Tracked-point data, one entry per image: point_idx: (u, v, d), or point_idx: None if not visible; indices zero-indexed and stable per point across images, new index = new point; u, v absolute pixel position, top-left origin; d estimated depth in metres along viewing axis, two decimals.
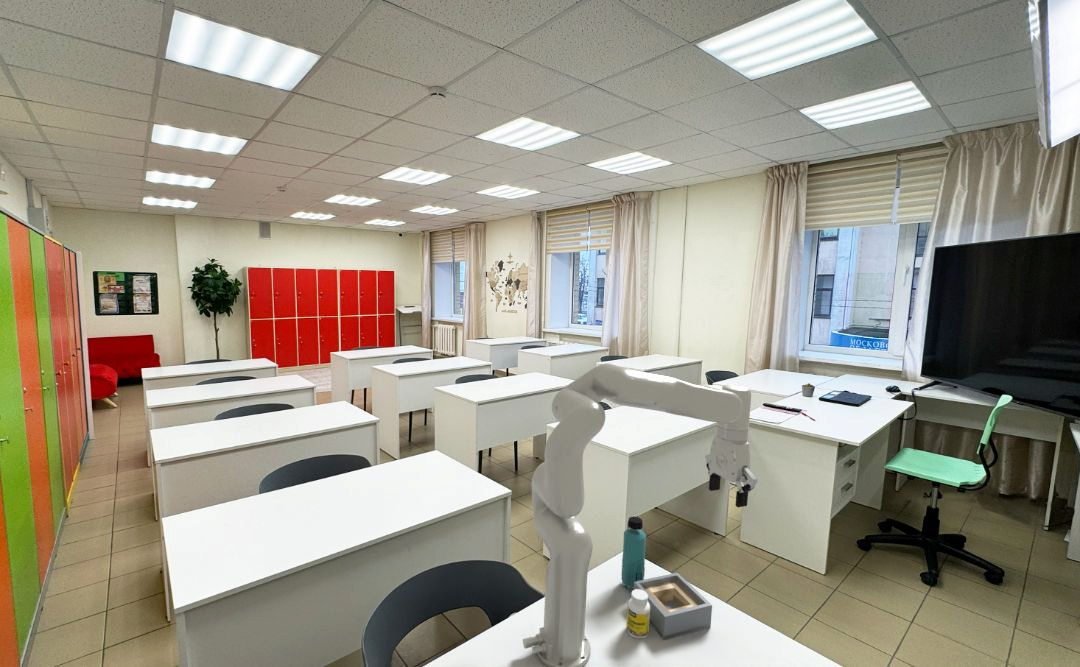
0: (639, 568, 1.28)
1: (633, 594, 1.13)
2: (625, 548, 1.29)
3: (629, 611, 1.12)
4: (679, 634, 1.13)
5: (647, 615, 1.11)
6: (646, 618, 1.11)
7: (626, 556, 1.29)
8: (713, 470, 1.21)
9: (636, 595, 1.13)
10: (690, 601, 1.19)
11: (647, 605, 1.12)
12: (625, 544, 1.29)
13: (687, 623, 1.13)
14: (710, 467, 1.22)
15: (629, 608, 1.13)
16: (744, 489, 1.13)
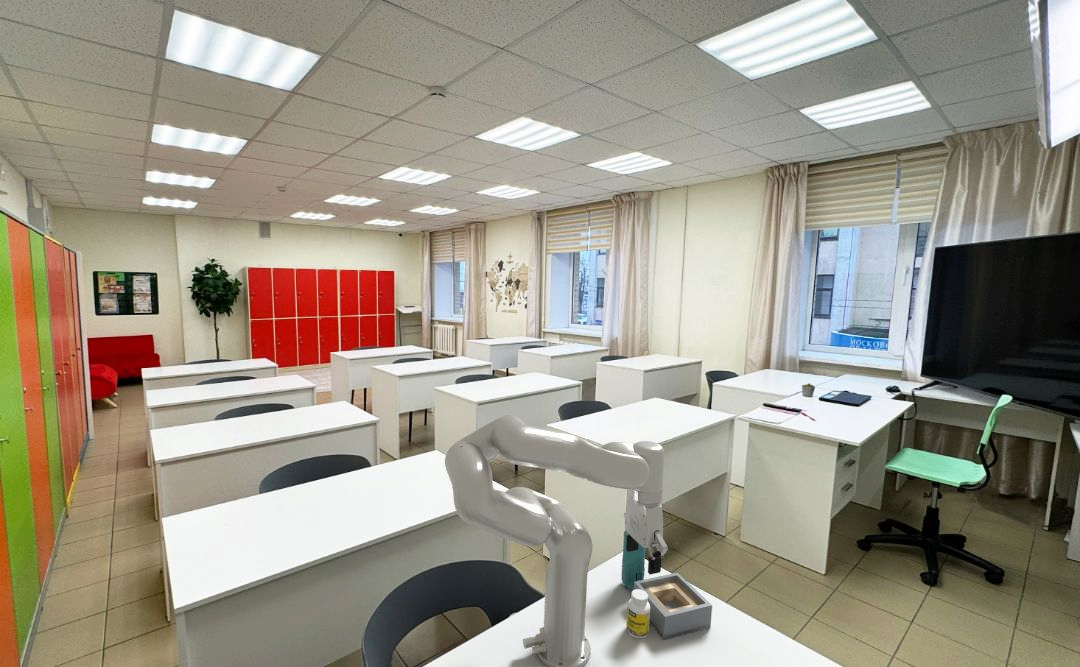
0: (639, 568, 1.28)
1: (633, 594, 1.13)
2: (625, 548, 1.29)
3: (629, 611, 1.12)
4: (679, 634, 1.13)
5: (647, 615, 1.11)
6: (646, 618, 1.11)
7: (626, 556, 1.29)
8: (628, 531, 1.13)
9: (636, 595, 1.13)
10: (690, 601, 1.19)
11: (647, 605, 1.12)
12: (625, 544, 1.29)
13: (687, 623, 1.13)
14: (626, 528, 1.14)
15: (629, 608, 1.12)
16: (655, 556, 1.06)
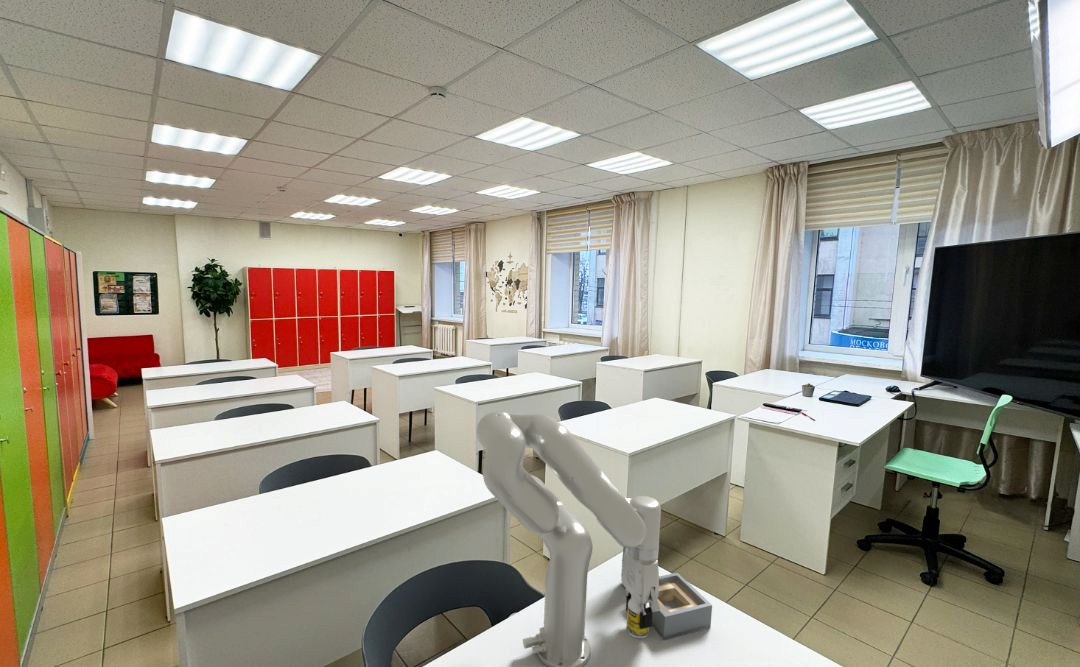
0: None
1: None
2: (625, 548, 1.29)
3: (629, 611, 1.12)
4: (679, 634, 1.13)
5: None
6: None
7: None
8: (624, 585, 1.14)
9: None
10: (690, 601, 1.19)
11: (647, 605, 1.12)
12: None
13: (687, 623, 1.13)
14: (622, 580, 1.16)
15: (629, 608, 1.13)
16: (646, 612, 1.09)
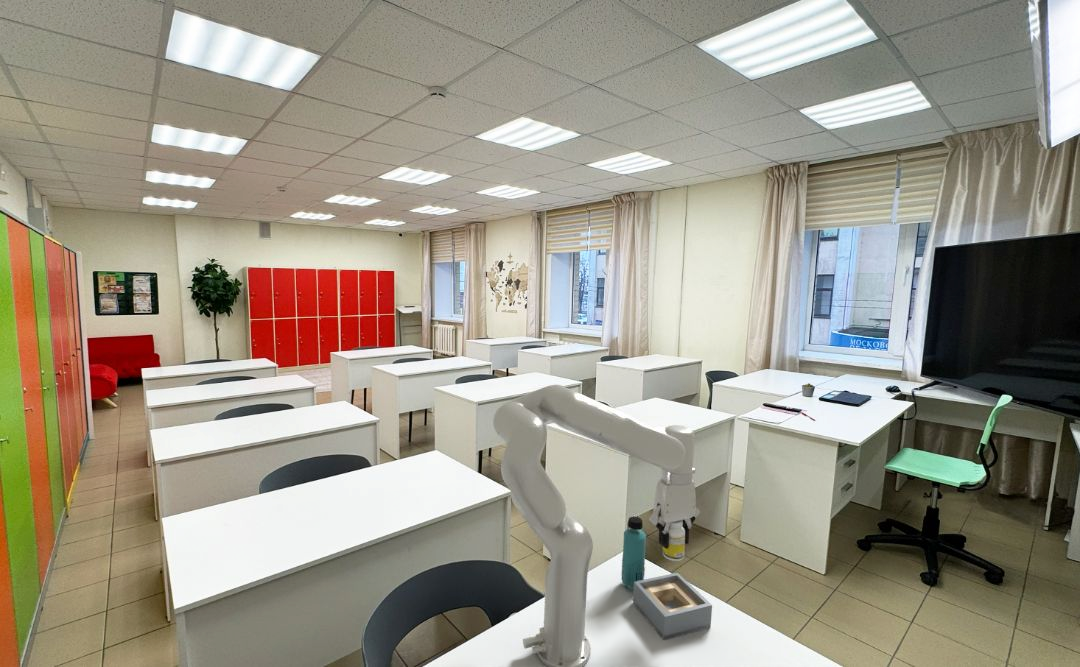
0: (639, 568, 1.28)
1: None
2: (625, 548, 1.29)
3: None
4: (679, 634, 1.13)
5: None
6: None
7: (626, 556, 1.29)
8: None
9: None
10: (690, 601, 1.19)
11: (672, 531, 1.16)
12: (625, 544, 1.29)
13: (687, 623, 1.13)
14: None
15: None
16: None
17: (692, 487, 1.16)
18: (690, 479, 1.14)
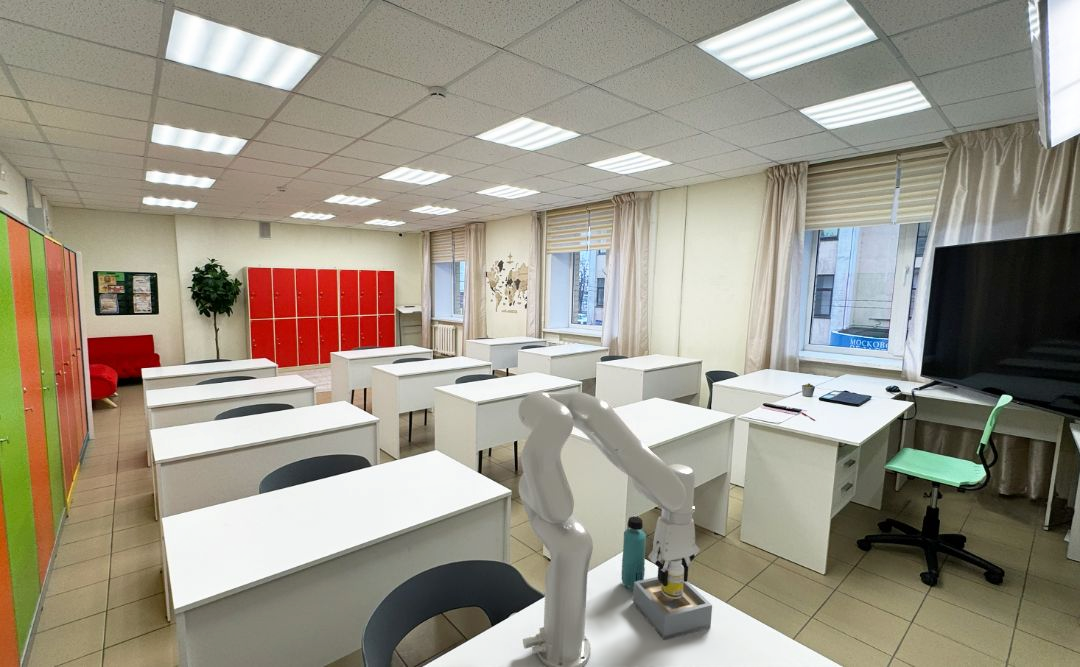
0: (639, 568, 1.28)
1: None
2: (625, 548, 1.29)
3: None
4: (679, 634, 1.13)
5: None
6: None
7: (626, 556, 1.29)
8: None
9: None
10: (690, 601, 1.19)
11: (671, 569, 1.17)
12: (625, 544, 1.29)
13: (687, 623, 1.13)
14: None
15: None
16: None
17: (692, 526, 1.17)
18: (690, 519, 1.15)
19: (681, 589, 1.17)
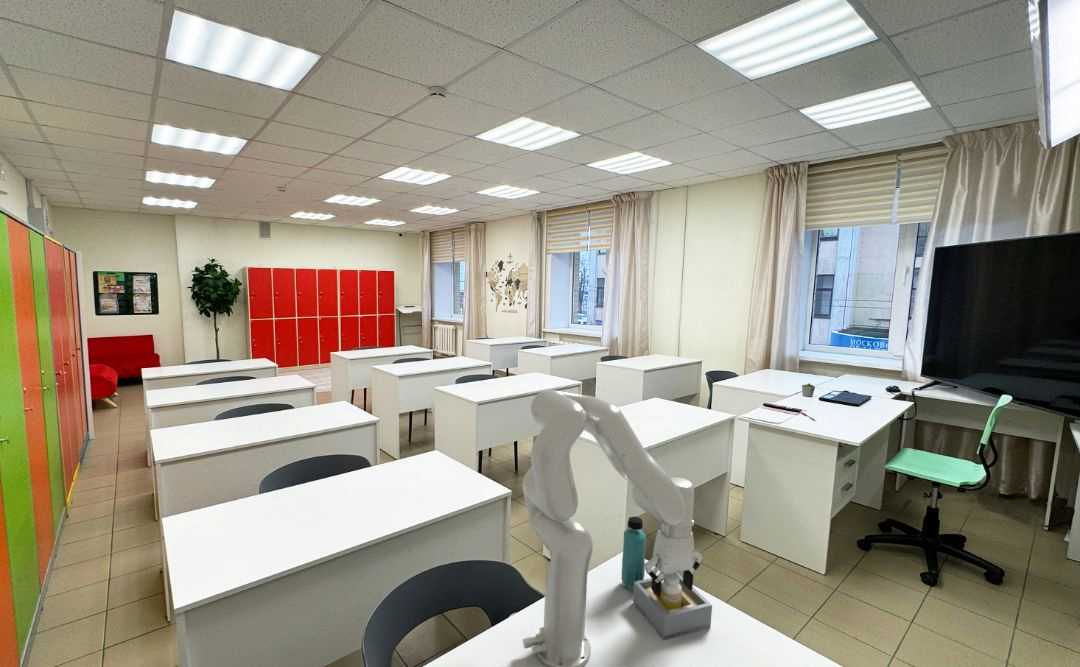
0: (639, 568, 1.28)
1: None
2: (625, 548, 1.29)
3: None
4: (679, 634, 1.13)
5: (664, 593, 1.18)
6: (663, 596, 1.18)
7: (626, 556, 1.29)
8: None
9: None
10: (690, 601, 1.19)
11: (669, 588, 1.18)
12: (625, 544, 1.29)
13: (687, 623, 1.13)
14: None
15: None
16: None
17: (691, 539, 1.17)
18: (689, 532, 1.15)
19: None
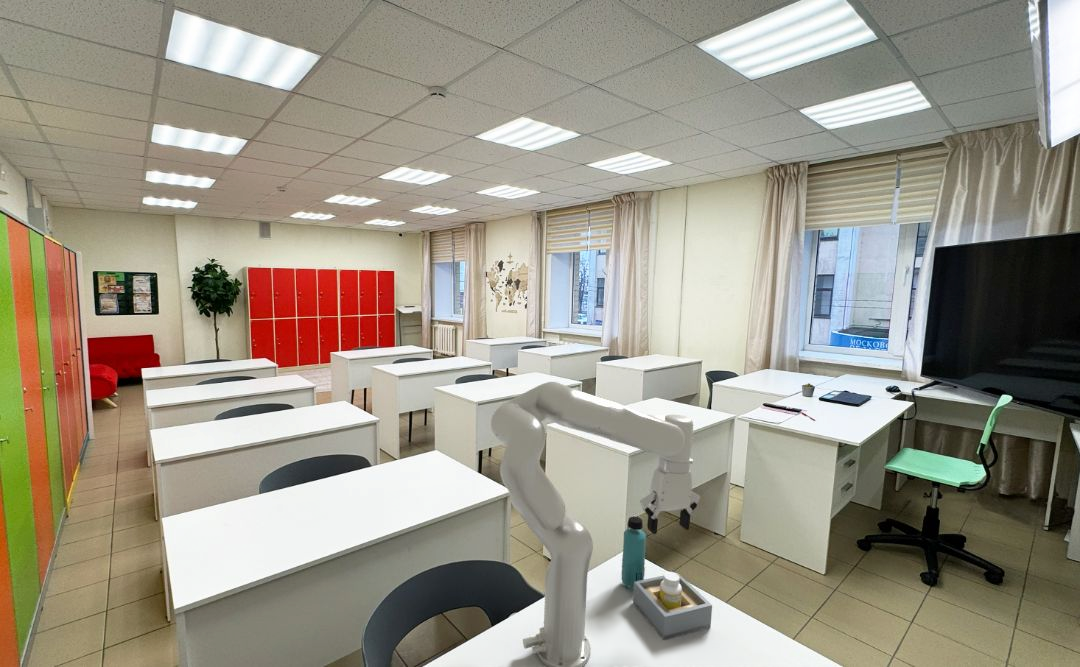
0: (639, 568, 1.28)
1: (668, 572, 1.21)
2: (625, 548, 1.29)
3: None
4: (679, 634, 1.13)
5: (664, 593, 1.18)
6: (663, 596, 1.18)
7: (626, 556, 1.29)
8: None
9: (668, 573, 1.20)
10: (690, 601, 1.19)
11: (669, 588, 1.18)
12: (625, 544, 1.29)
13: (687, 623, 1.13)
14: None
15: None
16: None
17: (689, 477, 1.16)
18: (687, 468, 1.14)
19: None
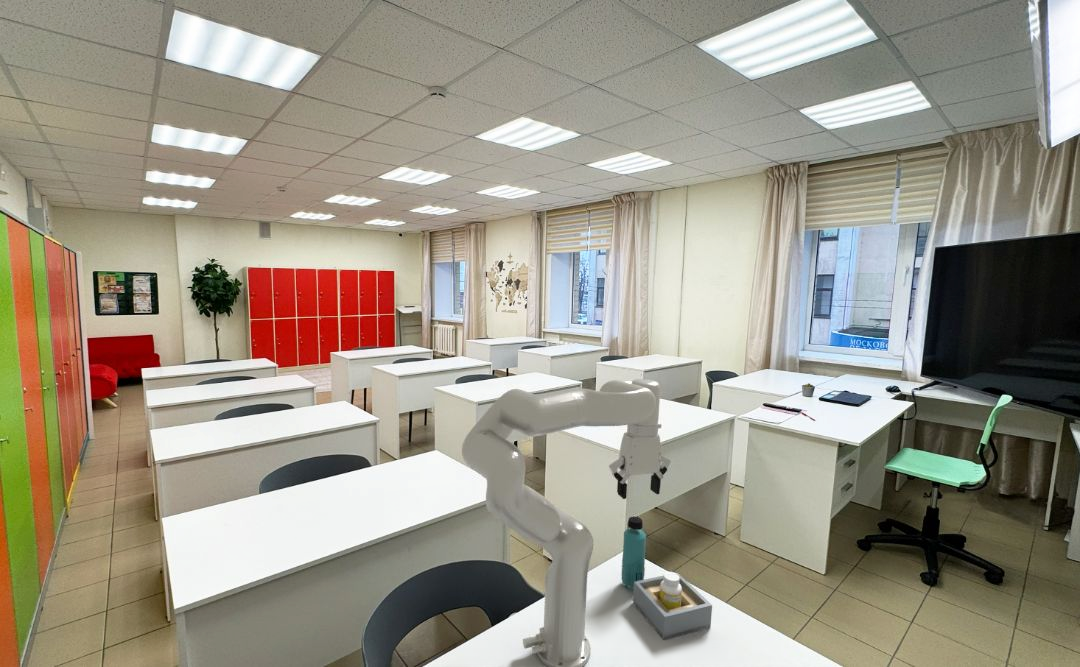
0: (639, 568, 1.28)
1: (668, 572, 1.21)
2: (625, 548, 1.29)
3: None
4: (679, 634, 1.13)
5: (664, 593, 1.18)
6: (663, 596, 1.18)
7: (626, 556, 1.29)
8: None
9: (668, 573, 1.20)
10: (690, 601, 1.19)
11: (669, 588, 1.18)
12: (625, 544, 1.29)
13: (687, 623, 1.13)
14: None
15: None
16: None
17: (657, 441, 1.15)
18: (655, 432, 1.13)
19: None
